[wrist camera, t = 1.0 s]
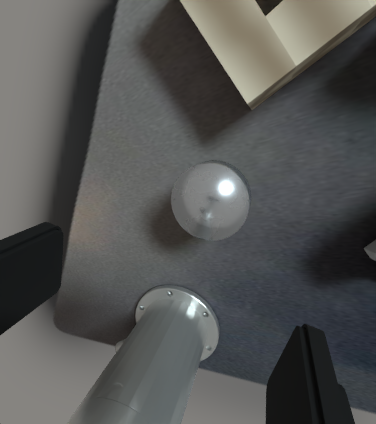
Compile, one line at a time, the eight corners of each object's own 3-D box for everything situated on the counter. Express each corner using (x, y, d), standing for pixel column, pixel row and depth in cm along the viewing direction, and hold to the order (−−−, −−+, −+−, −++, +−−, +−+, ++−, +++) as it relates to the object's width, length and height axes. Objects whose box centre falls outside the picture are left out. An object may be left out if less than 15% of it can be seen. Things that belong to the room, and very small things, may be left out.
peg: (215, 225, 31) (199, 253, 24) (183, 177, 31) (156, 191, 23) (266, 195, 28) (265, 216, 21) (231, 142, 28) (218, 146, 21)
